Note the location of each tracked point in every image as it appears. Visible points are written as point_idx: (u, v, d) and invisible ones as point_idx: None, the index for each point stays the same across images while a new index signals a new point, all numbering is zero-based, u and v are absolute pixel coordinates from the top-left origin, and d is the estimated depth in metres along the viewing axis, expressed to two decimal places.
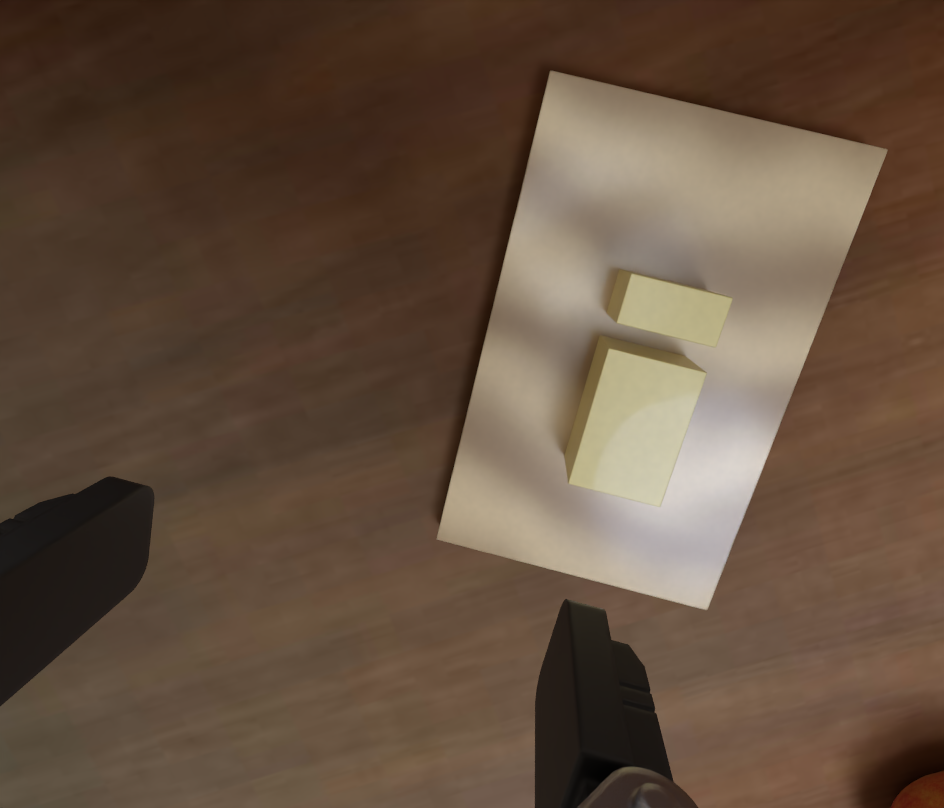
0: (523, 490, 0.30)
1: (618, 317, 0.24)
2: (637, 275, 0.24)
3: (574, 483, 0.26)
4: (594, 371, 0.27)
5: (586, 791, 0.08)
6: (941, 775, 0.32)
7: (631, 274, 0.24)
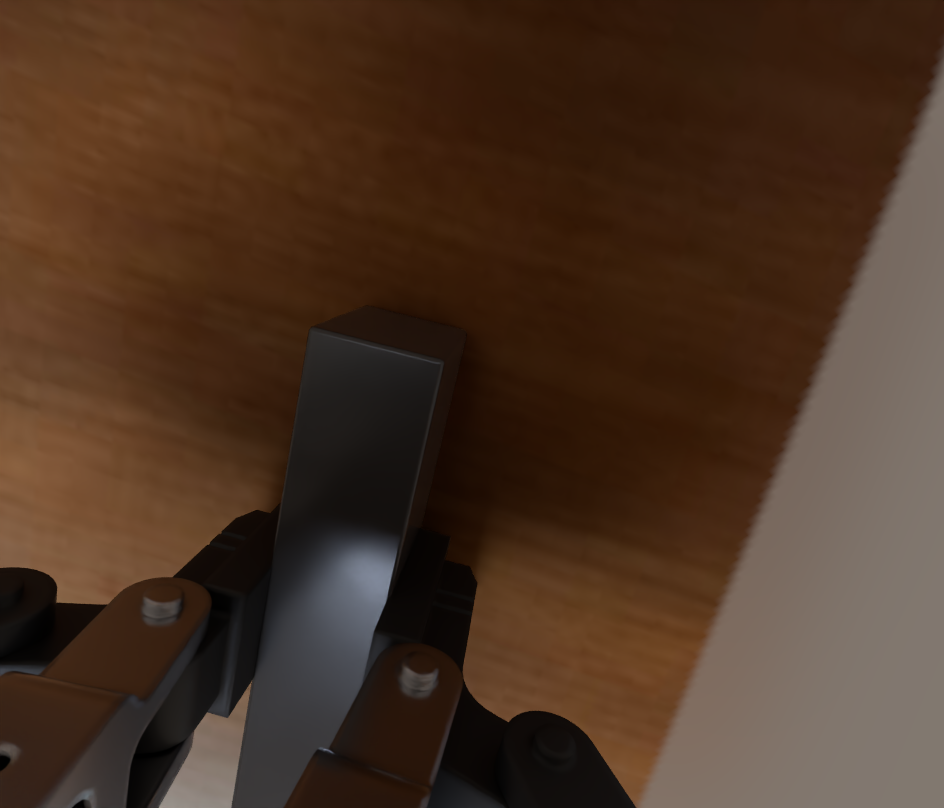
0: None
1: None
2: None
3: None
4: None
5: None
6: None
7: None
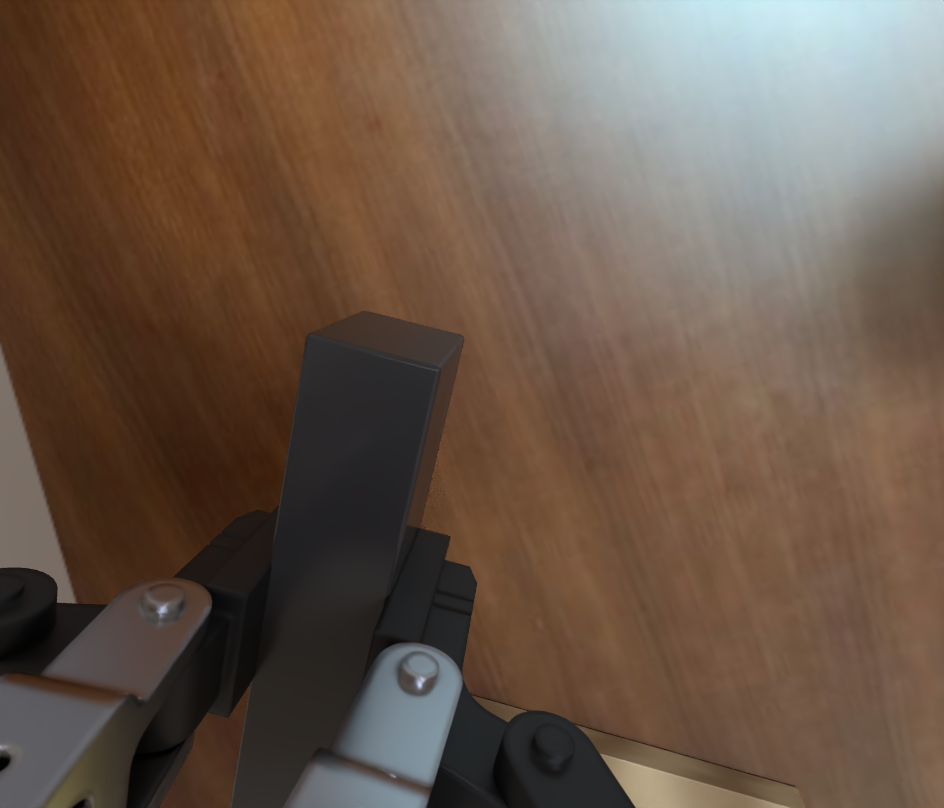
0: None
1: None
2: None
3: None
4: None
5: None
6: None
7: None
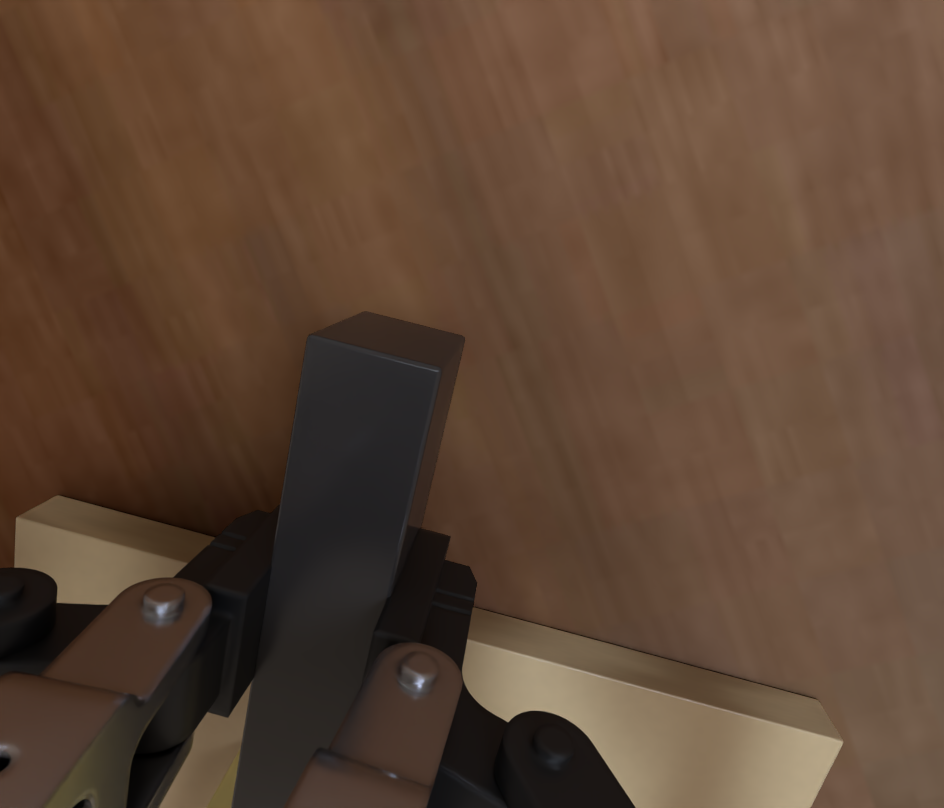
0: None
1: None
2: None
3: None
4: None
5: None
6: None
7: None
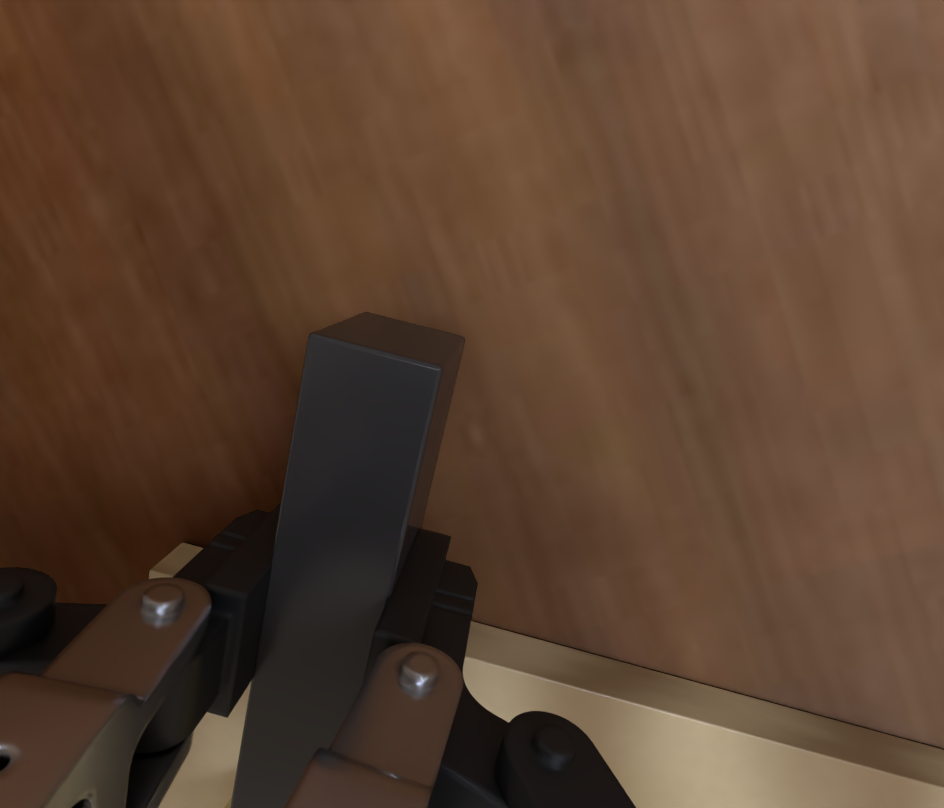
0: None
1: None
2: None
3: None
4: None
5: None
6: None
7: None
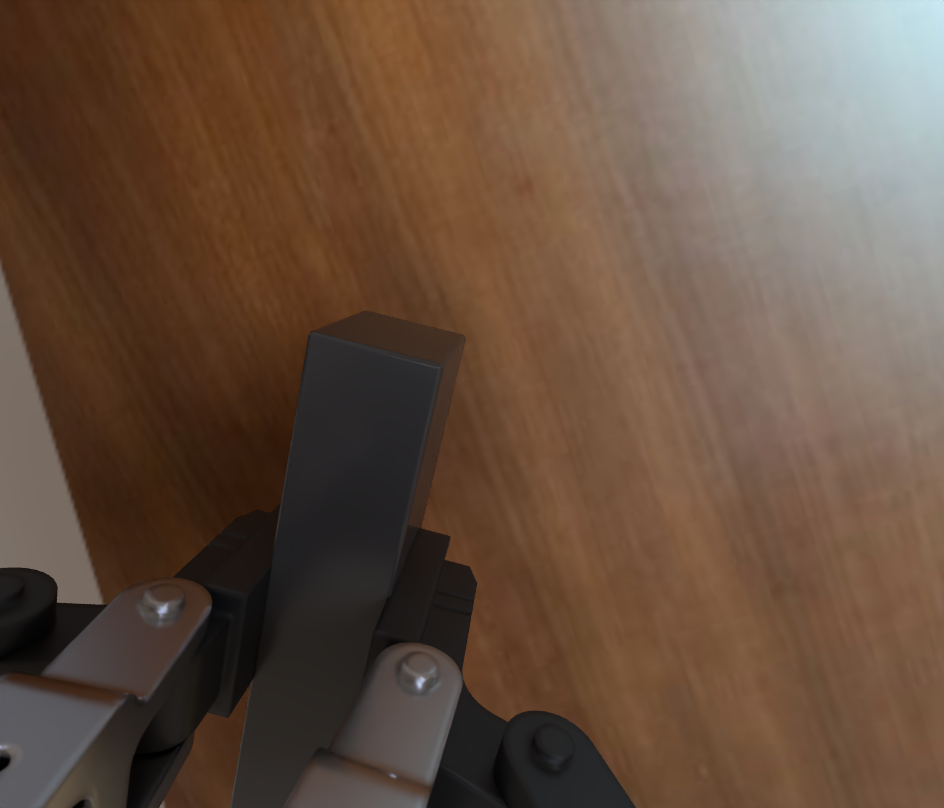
0: None
1: None
2: None
3: None
4: None
5: None
6: None
7: None
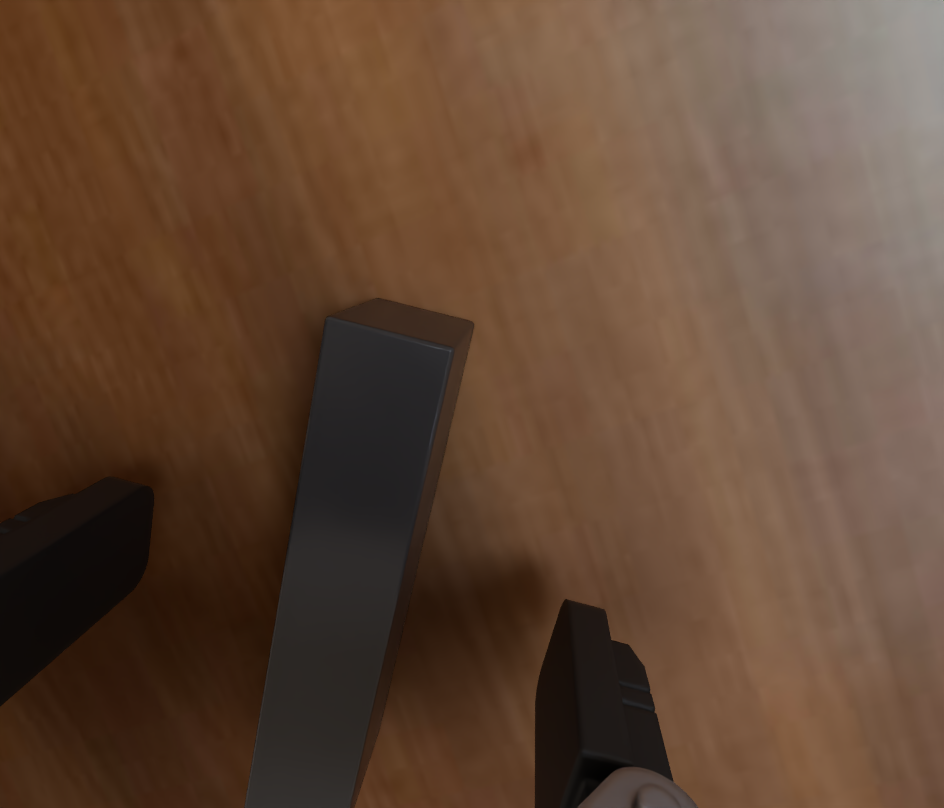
0: None
1: None
2: None
3: None
4: None
5: (586, 791, 0.08)
6: None
7: None
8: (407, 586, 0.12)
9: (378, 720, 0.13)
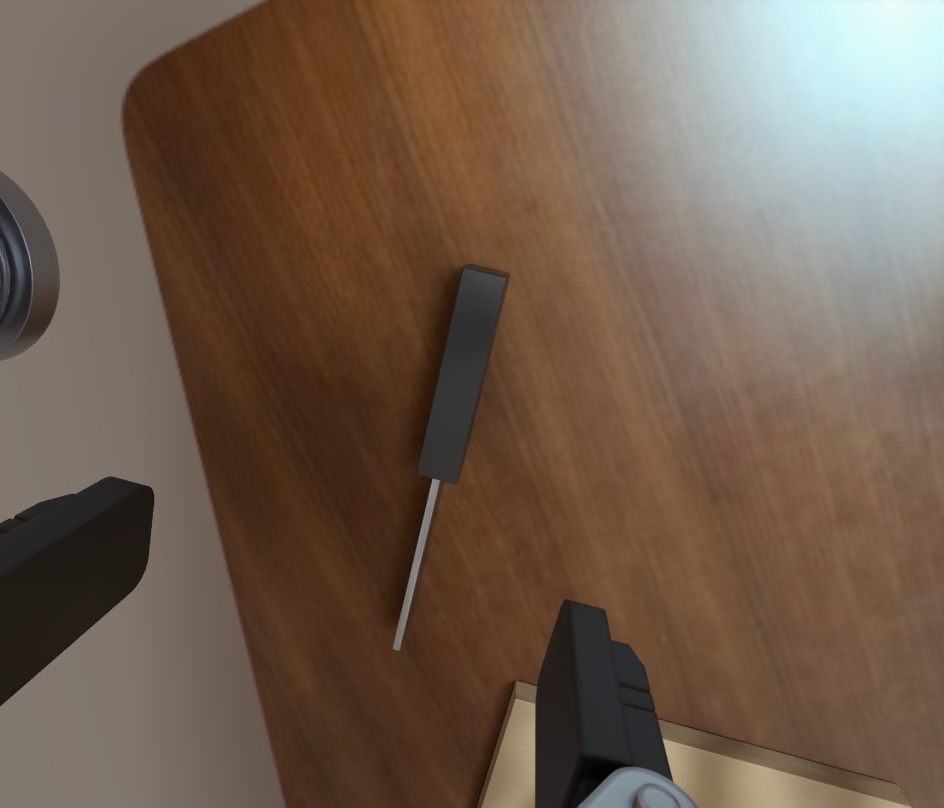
0: None
1: None
2: None
3: None
4: None
5: (586, 791, 0.08)
6: None
7: None
8: (483, 378, 0.29)
9: (466, 447, 0.31)
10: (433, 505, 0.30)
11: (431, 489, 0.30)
